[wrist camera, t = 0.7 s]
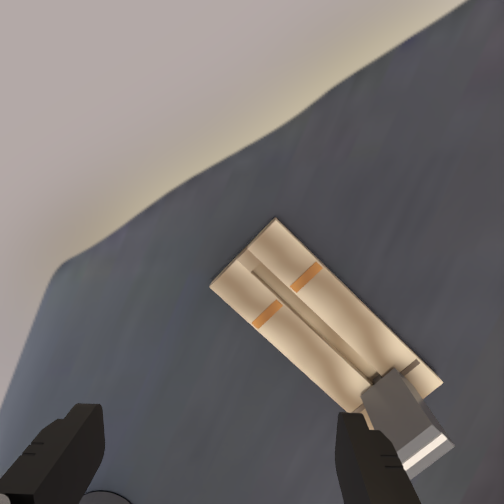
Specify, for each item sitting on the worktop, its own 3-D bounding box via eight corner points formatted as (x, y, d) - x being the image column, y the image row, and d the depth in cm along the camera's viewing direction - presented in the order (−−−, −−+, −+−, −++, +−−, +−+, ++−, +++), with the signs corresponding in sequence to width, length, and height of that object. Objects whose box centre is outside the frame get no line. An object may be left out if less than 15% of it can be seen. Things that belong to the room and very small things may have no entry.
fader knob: (373, 404, 42) (410, 482, 32) (356, 388, 42) (387, 461, 32) (407, 376, 41) (456, 447, 31) (390, 359, 41) (433, 425, 31)
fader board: (370, 425, 44) (375, 438, 42) (211, 281, 41) (209, 287, 38) (435, 372, 42) (443, 383, 40) (275, 217, 39) (276, 219, 37)
